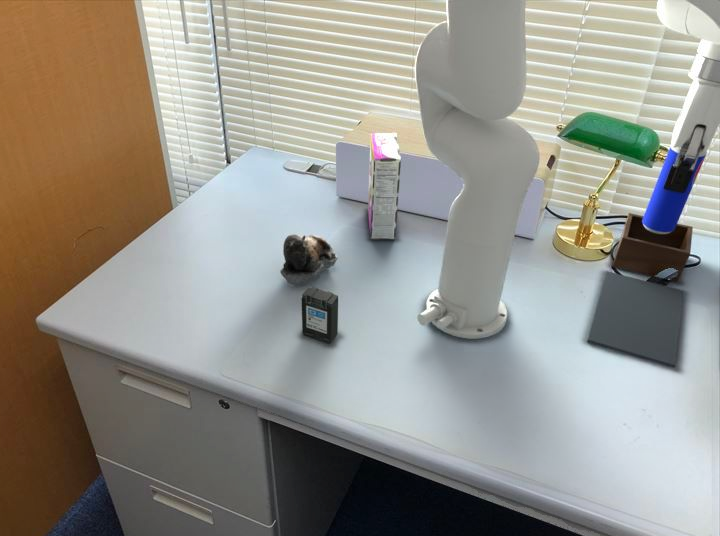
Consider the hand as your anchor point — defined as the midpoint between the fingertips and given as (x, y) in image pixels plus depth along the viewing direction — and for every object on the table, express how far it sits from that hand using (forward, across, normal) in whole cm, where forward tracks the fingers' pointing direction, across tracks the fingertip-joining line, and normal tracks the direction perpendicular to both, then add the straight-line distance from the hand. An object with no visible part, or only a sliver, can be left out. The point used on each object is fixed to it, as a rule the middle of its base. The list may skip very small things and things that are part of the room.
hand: (675, 182), depth 101 cm
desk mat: (+16, +17, +1) cm, 23 cm away
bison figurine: (+17, +30, -50) cm, 61 cm away
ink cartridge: (+17, +44, -42) cm, 63 cm away
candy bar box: (+17, +10, -46) cm, 50 cm away
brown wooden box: (+16, -1, +1) cm, 16 cm away
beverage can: (+9, 0, 0) cm, 9 cm away
